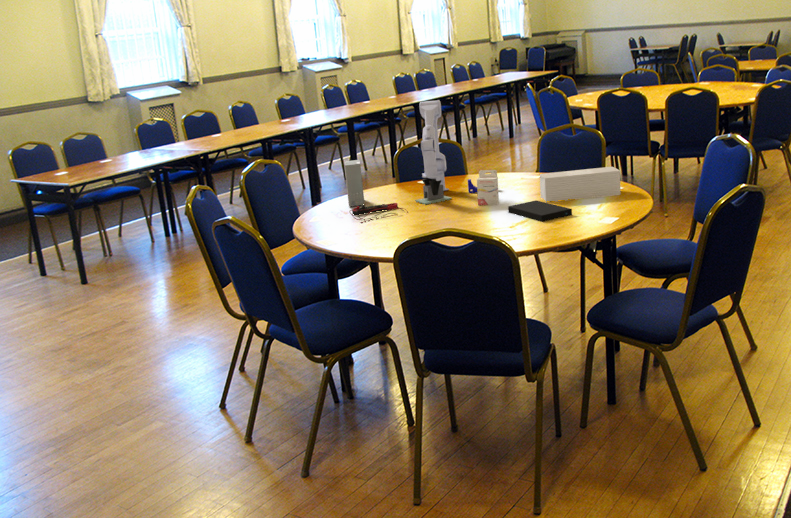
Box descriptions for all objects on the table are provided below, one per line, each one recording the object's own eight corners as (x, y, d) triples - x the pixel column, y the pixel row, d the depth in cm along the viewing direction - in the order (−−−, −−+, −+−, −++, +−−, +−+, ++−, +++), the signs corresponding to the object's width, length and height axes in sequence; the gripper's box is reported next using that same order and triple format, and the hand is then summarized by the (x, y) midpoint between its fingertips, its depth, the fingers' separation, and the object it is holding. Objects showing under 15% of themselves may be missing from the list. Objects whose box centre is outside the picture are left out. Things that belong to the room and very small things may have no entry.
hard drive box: (365, 205, 339) (360, 163, 334) (349, 207, 339) (343, 165, 333) (364, 199, 354) (359, 159, 349) (348, 201, 354) (343, 160, 348)
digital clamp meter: (343, 206, 325) (395, 197, 331) (344, 215, 326) (396, 207, 332) (355, 215, 303) (411, 206, 309) (356, 225, 304) (412, 216, 311)
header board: (415, 201, 336) (414, 195, 336) (441, 196, 342) (440, 190, 341) (425, 204, 328) (424, 198, 327) (451, 199, 333) (451, 193, 332)
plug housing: (423, 198, 335) (423, 185, 333) (438, 196, 338) (438, 183, 337) (428, 199, 331) (427, 186, 329) (443, 197, 334) (443, 184, 332)
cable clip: (468, 193, 343) (468, 181, 341) (468, 191, 347) (467, 179, 345) (494, 191, 342) (493, 178, 340) (493, 189, 346) (492, 177, 345)
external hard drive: (536, 207, 303) (536, 200, 302) (572, 216, 282) (571, 208, 282) (508, 213, 297) (508, 206, 296) (542, 223, 277) (542, 215, 276)
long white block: (545, 203, 308) (544, 178, 305) (540, 198, 318) (539, 173, 315) (620, 195, 308) (620, 170, 305) (612, 190, 318) (612, 166, 315)
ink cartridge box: (477, 205, 315) (475, 172, 311) (480, 203, 320) (478, 170, 316) (497, 205, 312) (495, 171, 308) (499, 202, 317) (497, 169, 313)
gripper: (415, 165, 335) (418, 193, 339) (430, 168, 322) (432, 197, 326) (428, 162, 338) (431, 191, 341) (443, 165, 325) (446, 195, 329)
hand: (432, 194), depth 334 cm, fingers closed on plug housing, 4 cm apart
